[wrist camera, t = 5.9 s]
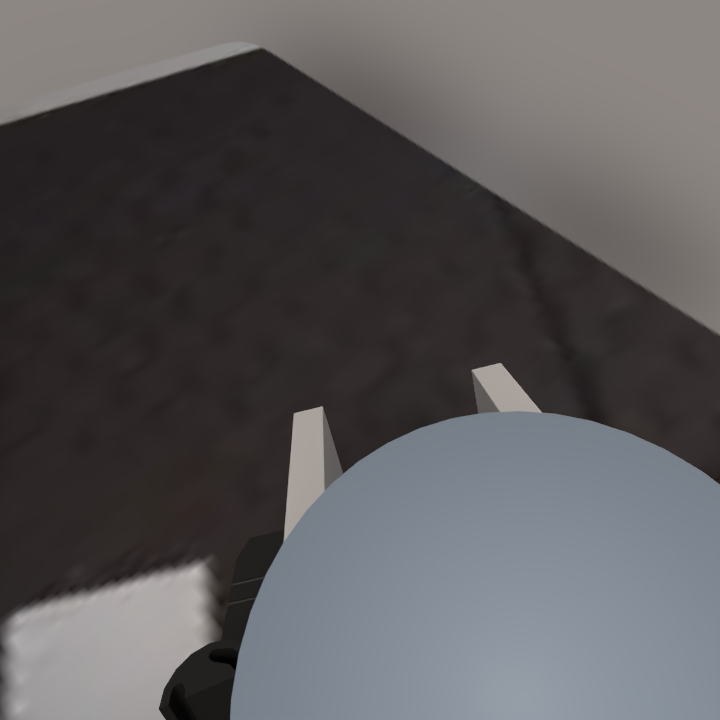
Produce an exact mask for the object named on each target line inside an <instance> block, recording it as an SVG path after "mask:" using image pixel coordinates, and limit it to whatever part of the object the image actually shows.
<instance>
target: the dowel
mask: <svg viewBox="0 0 720 720" xmlns="http://www.w3.org/2000/svg"><path fill="white" fill-rule="evenodd" d="M230 720H720V484H718V483H717V482H716V481H714V480H713V479H712V478H710V477H709V476H708V475H706V474H705V473H704V472H702V471H701V470H699V469H697V468H696V467H694V466H692V465H691V464H689V463H687V462H685V461H684V460H682V459H680V458H679V457H677V456H675V455H674V454H672V453H670V452H669V451H667V450H665V449H663V448H661V447H658V446H656V445H654V444H652V443H650V442H647V441H645V440H643V439H641V438H639V437H636V436H634V435H632V434H630V433H627V432H624V431H621V430H618V429H615V428H612V427H609V426H605V425H602V424H599V423H596V422H593V421H589V420H584V419H579V418H574V417H569V416H564V415H559V414H550V413H538V412H525V411H512V412H490V413H481V414H475V415H469V416H463V417H458V418H452V419H448V420H445V421H442V422H439V423H435V424H432V425H429V426H426V427H423V428H419V429H417V430H415V431H413V432H410V433H408V434H406V435H404V436H402V437H400V438H397V439H395V440H393V441H391V442H389V443H387V444H385V445H384V446H382V447H381V448H379V449H377V450H376V451H374V452H373V453H371V454H369V455H368V456H366V457H365V458H363V459H362V460H360V461H358V462H357V463H356V464H355V465H354V466H352V467H351V468H350V469H349V470H347V471H346V472H345V473H344V474H343V475H341V476H340V477H339V478H338V479H337V480H335V481H334V482H333V483H332V484H331V485H330V486H329V487H328V488H327V489H326V490H325V491H324V492H323V493H322V494H321V496H320V497H319V498H318V499H317V500H316V501H315V502H314V503H313V504H312V505H311V506H310V507H309V508H308V509H307V511H306V512H305V513H304V515H303V516H302V517H301V519H300V520H299V522H298V523H297V524H296V526H295V527H294V529H293V530H292V531H291V533H290V534H289V535H288V537H287V538H286V540H285V541H284V543H283V545H282V546H281V548H280V550H279V552H278V554H277V555H276V557H275V559H274V561H273V563H272V565H271V566H270V568H269V570H268V572H267V574H266V575H265V578H264V580H263V583H262V585H261V588H260V590H259V593H258V595H257V597H256V600H255V602H254V605H253V607H252V610H251V612H250V615H249V619H248V623H247V626H246V630H245V633H244V637H243V640H242V644H241V647H240V651H239V655H238V661H237V667H236V673H235V679H234V685H233V691H232V697H231V711H230Z"/></svg>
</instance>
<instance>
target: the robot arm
mask: <svg viewBox="0 0 720 720" xmlns="http://www.w3.org/2000/svg"><path fill="white" fill-rule="evenodd" d="M472 375H473V382H474V389H475V395H476V402H477V408H478V414H481V413H490V412H512V411H525V412H538V413H542V412H541V411H540V410H539V409H538V407H537V406H536V405H535V404H534V403H533V401H532V400H531V399H530V398H529V397H528V395H527V394H526V393H525V392H524V391H523V389H522V388H521V387H520V386H519V385H518V383H517V382H516V381H515V380H514V379H513V377H512V376H511V375H510V374H509V372H508V371H507V370H506V369H505V368H504V366H503V365H502V364H501V363H498V364H494V365H490V366H486V367H482V368H478V369H474V370H472ZM341 475H343V472H342V469H341V465H340V462H339V459H338V456H337V452H336V449H335V446H334V442H333V439H332V436H331V433H330V429H329V426H328V423H327V419H326V416H325V413H324V409H323V406H322V407H318V408H314V409H310V410H306V411H302V412H298V413H294V421H293V433H292V445H291V458H290V470H289V482H288V495H287V507H286V519H285V530H282V531H278V532H274V533H270V534H265V535H261V536H257V537H253V538H250V539H249V541H248V542H247V544H246V546H245V547H244V549H243V550H242V552H241V554H240V555H239V557H238V558H237V561H236V566H235V571H234V576H233V582H232V584H233V587H231V592H230V597H229V607H228V608H227V613H226V618H225V624H224V629H223V634H222V640H221V641H218V642H213V643H210V644H208V645H206V646H204V647H203V648H201V649H199V650H198V651H196V652H194V653H192V654H191V655H190V656H189V657H188V658H187V659H186V660H185V661H184V662H183V663H182V664H181V665H180V666H179V667H178V668H177V669H176V670H175V672H174V674H173V675H172V677H171V679H170V680H169V682H168V683H167V685H166V687H165V688H164V692H163V695H162V699H161V703H160V706H159V710H160V712H161V713H162V715H163V716H164V718H165V719H166V720H230V711H231V697H232V691H233V685H234V679H235V673H236V667H237V661H238V655H239V651H240V647H241V644H242V640H243V637H244V633H245V630H246V626H247V623H248V619H249V615H250V612H251V610H252V607H253V605H254V602H255V600H256V597H257V595H258V593H259V590H260V588H261V585H262V583H263V580H264V578H265V575H266V574H267V572H268V570H269V568H270V566H271V565H272V563H273V561H274V559H275V557H276V555H277V554H278V552H279V550H280V548H281V546H282V545H283V543H284V541H285V540H286V538H287V537H288V535H289V534H290V533H291V531H292V530H293V529H294V527H295V526H296V524H297V523H298V522H299V520H300V519H301V517H302V516H303V515H304V513H305V512H306V511H307V509H308V508H309V507H310V506H311V505H312V504H313V503H314V502H315V501H316V500H317V499H318V498H319V497H320V496H321V494H322V493H323V492H324V491H325V490H326V489H327V488H328V487H329V486H330V485H331V484H332V483H333V482H334V481H335V480H337V479H338V478H339V477H340V476H341Z"/></svg>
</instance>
